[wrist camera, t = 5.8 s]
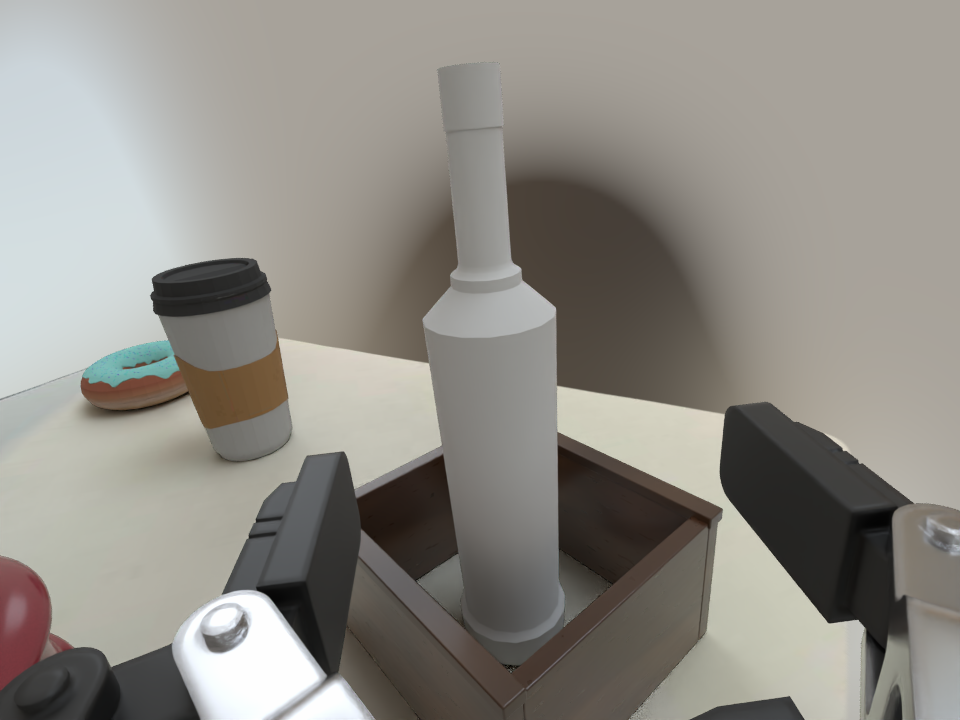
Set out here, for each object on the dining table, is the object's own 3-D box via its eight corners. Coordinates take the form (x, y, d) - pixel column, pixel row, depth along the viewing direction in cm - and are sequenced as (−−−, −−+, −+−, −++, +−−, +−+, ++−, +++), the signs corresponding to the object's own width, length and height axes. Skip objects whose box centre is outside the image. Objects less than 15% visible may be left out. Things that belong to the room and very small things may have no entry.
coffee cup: (323, 436, 47) (284, 262, 41) (226, 483, 42) (165, 291, 36) (278, 409, 53) (237, 252, 47) (187, 447, 47) (128, 276, 41)
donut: (205, 401, 56) (194, 365, 54) (71, 428, 53) (54, 390, 51) (219, 359, 66) (210, 328, 65) (107, 380, 63) (95, 347, 62)
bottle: (488, 688, 25) (415, 59, 15) (449, 605, 29) (373, 79, 19) (586, 643, 26) (579, 51, 17) (535, 571, 31) (506, 71, 21)
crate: (337, 616, 29) (308, 504, 26) (512, 504, 36) (505, 407, 34) (517, 849, 19) (502, 709, 16) (710, 631, 27) (723, 508, 24)
